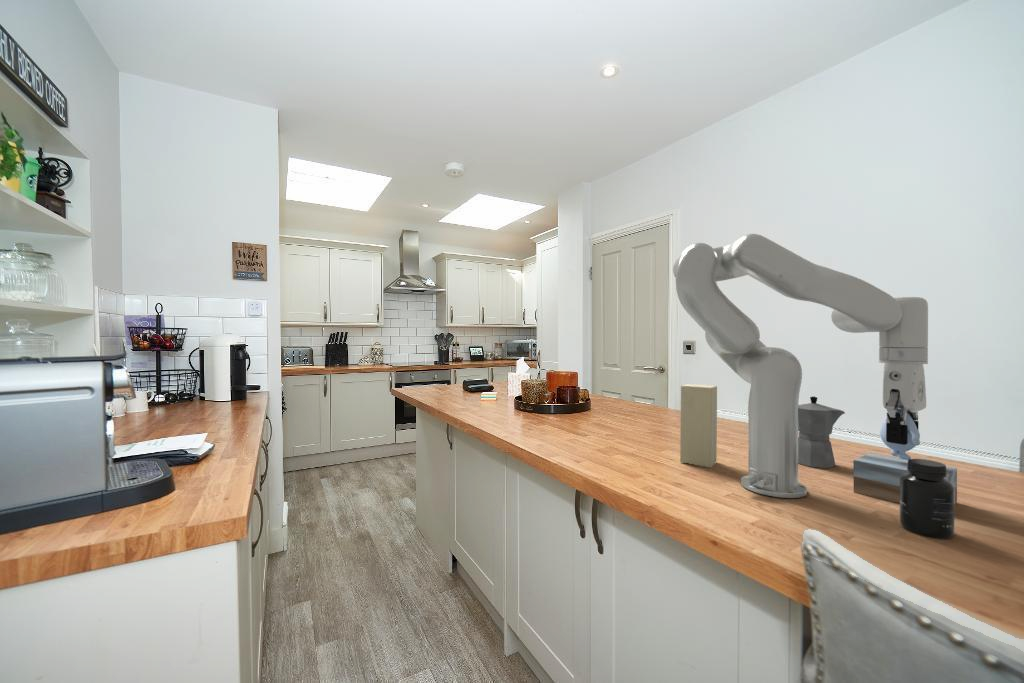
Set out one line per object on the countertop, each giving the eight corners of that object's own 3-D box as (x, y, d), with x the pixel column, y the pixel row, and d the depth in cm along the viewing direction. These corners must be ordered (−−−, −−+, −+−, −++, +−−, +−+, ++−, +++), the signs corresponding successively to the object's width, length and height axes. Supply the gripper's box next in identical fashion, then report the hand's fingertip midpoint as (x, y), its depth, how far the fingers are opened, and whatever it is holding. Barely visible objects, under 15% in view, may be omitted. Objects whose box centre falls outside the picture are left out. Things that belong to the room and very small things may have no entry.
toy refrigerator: (718, 461, 115) (717, 385, 114) (711, 468, 109) (711, 387, 109) (687, 456, 120) (687, 383, 119) (680, 462, 114) (679, 385, 114)
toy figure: (937, 465, 83) (937, 405, 83) (901, 464, 84) (901, 405, 84) (897, 451, 94) (897, 397, 93) (866, 450, 95) (866, 397, 94)
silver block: (944, 514, 80) (944, 477, 80) (853, 492, 91) (853, 460, 91) (956, 502, 85) (956, 468, 85) (870, 483, 97) (869, 453, 97)
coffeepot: (847, 464, 111) (847, 397, 111) (842, 472, 104) (841, 400, 104) (780, 453, 122) (780, 392, 122) (771, 460, 116) (771, 395, 115)
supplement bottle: (889, 522, 76) (888, 457, 76) (923, 521, 77) (923, 456, 77) (929, 541, 69) (929, 468, 69) (966, 539, 70) (966, 467, 70)
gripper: (914, 358, 80) (914, 451, 80) (938, 355, 90) (938, 438, 90) (865, 356, 87) (865, 442, 87) (892, 354, 96) (892, 432, 96)
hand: (902, 440), depth 88 cm, fingers closed on toy figure, 6 cm apart
